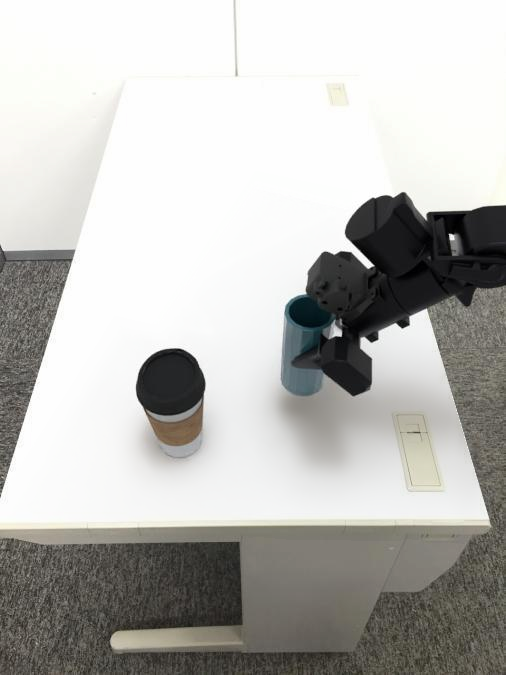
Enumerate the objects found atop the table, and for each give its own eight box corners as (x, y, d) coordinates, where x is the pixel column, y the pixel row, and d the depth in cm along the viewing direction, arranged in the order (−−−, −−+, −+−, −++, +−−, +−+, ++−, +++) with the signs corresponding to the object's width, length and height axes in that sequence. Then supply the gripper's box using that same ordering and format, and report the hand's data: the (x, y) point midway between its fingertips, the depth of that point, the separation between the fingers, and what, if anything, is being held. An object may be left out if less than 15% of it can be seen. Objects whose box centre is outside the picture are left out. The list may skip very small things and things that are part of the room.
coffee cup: (219, 420, 76) (213, 353, 64) (199, 473, 70) (189, 410, 59) (164, 407, 77) (149, 339, 66) (140, 457, 72) (120, 393, 60)
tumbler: (332, 372, 73) (344, 305, 63) (312, 403, 69) (321, 338, 60) (294, 354, 75) (300, 287, 65) (272, 384, 72) (275, 317, 62)
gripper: (358, 193, 60) (261, 258, 70) (355, 310, 48) (238, 370, 58) (413, 253, 65) (316, 307, 75) (423, 372, 53) (305, 419, 63)
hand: (295, 345), depth 67 cm, fingers closed on tumbler, 6 cm apart
